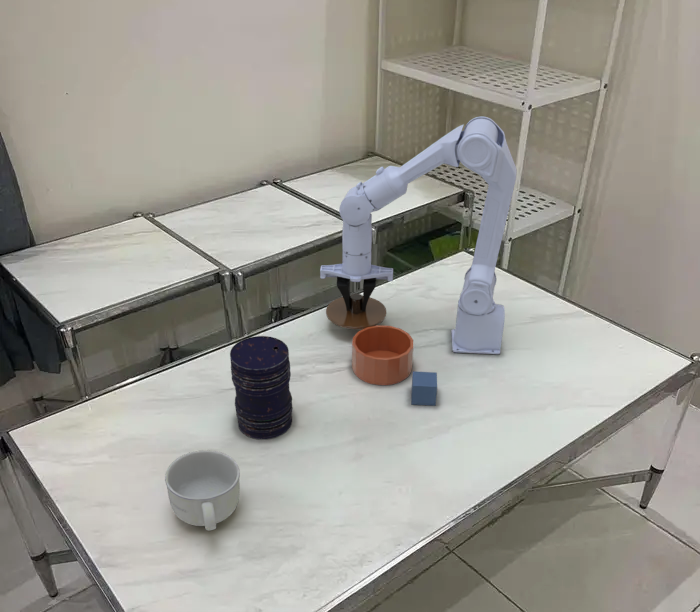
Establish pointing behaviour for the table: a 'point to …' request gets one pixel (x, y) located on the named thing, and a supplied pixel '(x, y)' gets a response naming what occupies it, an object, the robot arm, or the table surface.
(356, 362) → the bowl
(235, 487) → the teacup
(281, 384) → the storage jar
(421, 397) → the block
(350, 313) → the lid
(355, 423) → the table surface
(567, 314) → the table surface
